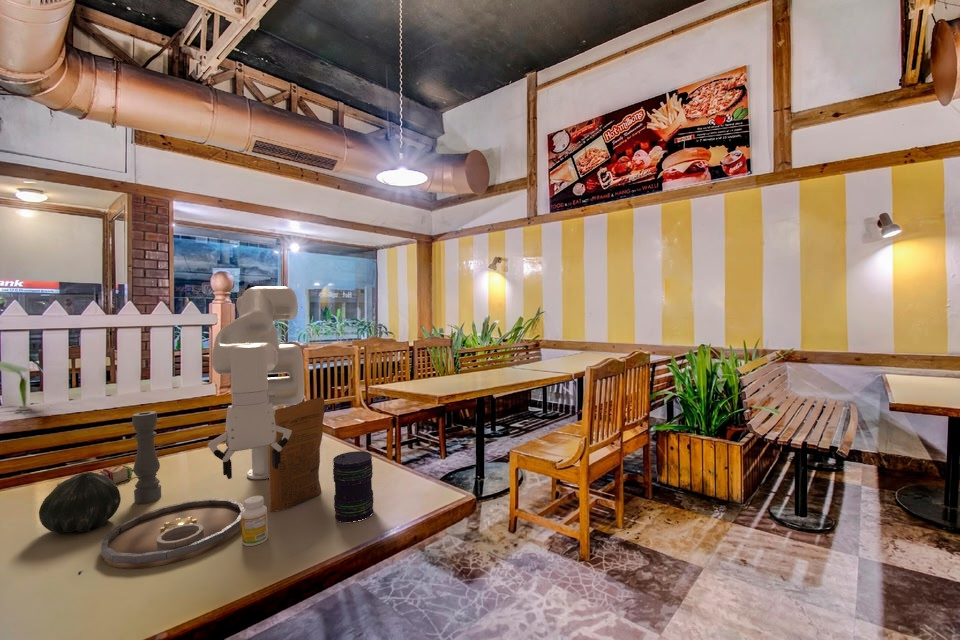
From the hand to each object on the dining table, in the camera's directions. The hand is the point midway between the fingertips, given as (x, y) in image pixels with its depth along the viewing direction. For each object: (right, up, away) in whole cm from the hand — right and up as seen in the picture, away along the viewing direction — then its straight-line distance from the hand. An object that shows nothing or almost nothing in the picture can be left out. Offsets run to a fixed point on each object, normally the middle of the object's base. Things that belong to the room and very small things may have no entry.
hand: (252, 472), depth 102 cm
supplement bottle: (0, -16, +1) cm, 16 cm away
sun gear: (-20, -15, +4) cm, 26 cm away
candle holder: (-43, -17, +25) cm, 53 cm away
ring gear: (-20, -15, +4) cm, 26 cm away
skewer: (-66, -18, +37) cm, 78 cm away
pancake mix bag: (+2, -16, +22) cm, 27 cm away
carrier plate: (-20, -17, +4) cm, 26 cm away
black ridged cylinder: (+20, -16, +13) cm, 28 cm away
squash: (-48, -17, +10) cm, 52 cm away
